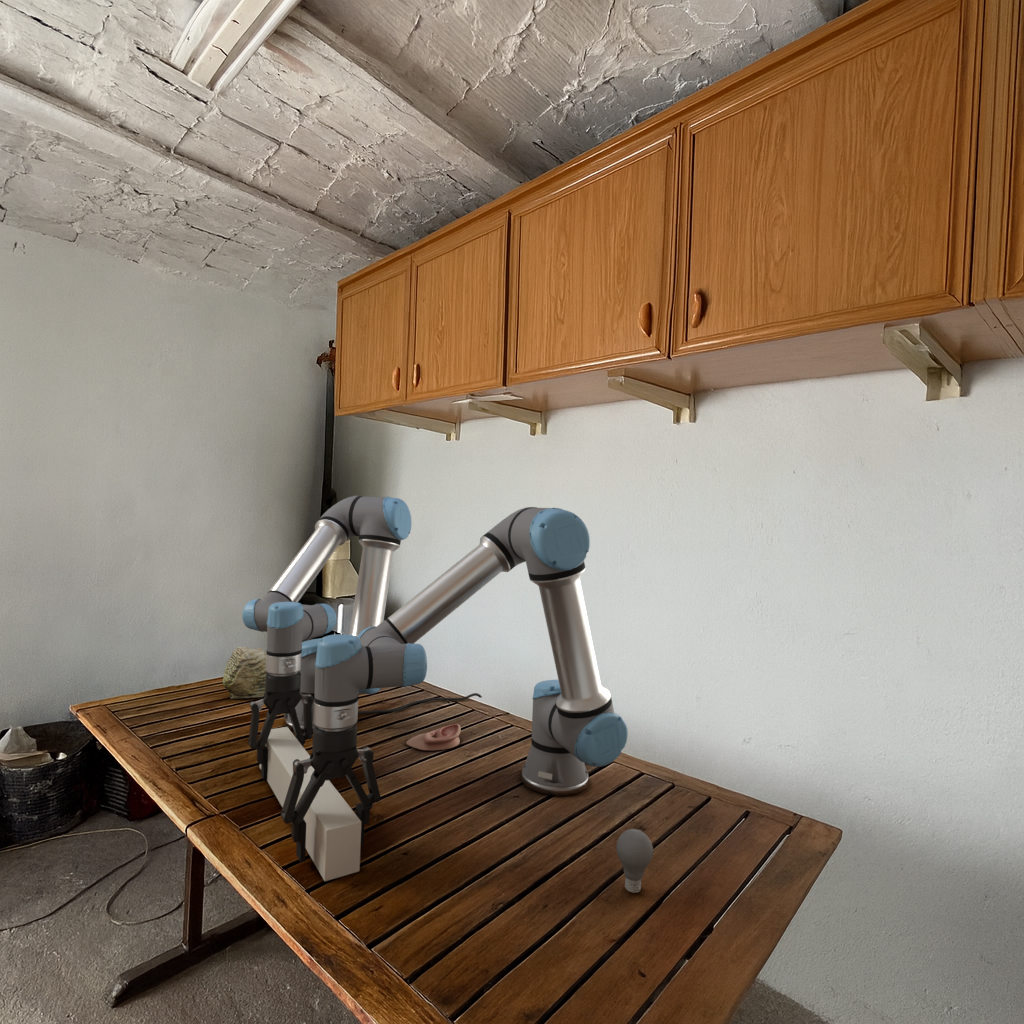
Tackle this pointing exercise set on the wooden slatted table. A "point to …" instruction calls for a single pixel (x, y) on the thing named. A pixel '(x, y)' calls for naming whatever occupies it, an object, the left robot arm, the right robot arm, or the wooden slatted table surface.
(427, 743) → the anatomical model
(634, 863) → the light bulb
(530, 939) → the wooden slatted table surface
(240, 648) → the fossil
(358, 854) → the post
